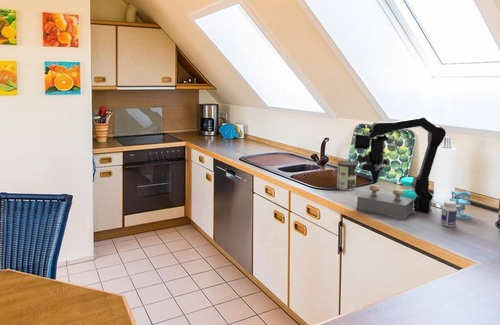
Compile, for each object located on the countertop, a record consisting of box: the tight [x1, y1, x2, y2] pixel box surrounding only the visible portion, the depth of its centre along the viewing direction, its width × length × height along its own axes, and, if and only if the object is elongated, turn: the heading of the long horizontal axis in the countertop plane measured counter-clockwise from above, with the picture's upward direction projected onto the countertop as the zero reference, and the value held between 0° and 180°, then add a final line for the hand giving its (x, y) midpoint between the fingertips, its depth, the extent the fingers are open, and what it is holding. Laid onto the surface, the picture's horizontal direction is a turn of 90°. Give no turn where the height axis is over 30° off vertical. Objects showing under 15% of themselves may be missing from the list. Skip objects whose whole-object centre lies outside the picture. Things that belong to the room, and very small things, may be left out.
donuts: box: [400, 176, 417, 200], centre depth 219 cm, size 10×10×10 cm
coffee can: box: [336, 160, 358, 191], centre depth 237 cm, size 10×10×14 cm
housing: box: [356, 190, 414, 219], centre depth 199 cm, size 22×12×6 cm, turn 53°
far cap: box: [369, 184, 381, 197], centre depth 202 cm, size 4×4×7 cm
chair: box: [449, 190, 472, 220], centre depth 192 cm, size 8×8×12 cm
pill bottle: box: [440, 200, 458, 228], centre depth 181 cm, size 6×6×10 cm
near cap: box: [392, 188, 404, 201], centre depth 195 cm, size 4×4×7 cm
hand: (374, 182), depth 201 cm, fingers closed
